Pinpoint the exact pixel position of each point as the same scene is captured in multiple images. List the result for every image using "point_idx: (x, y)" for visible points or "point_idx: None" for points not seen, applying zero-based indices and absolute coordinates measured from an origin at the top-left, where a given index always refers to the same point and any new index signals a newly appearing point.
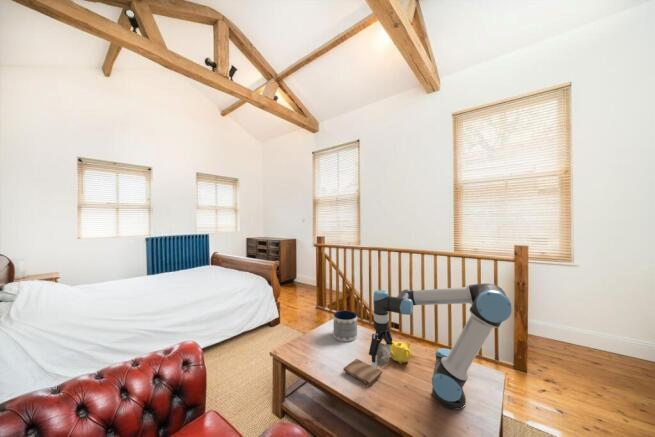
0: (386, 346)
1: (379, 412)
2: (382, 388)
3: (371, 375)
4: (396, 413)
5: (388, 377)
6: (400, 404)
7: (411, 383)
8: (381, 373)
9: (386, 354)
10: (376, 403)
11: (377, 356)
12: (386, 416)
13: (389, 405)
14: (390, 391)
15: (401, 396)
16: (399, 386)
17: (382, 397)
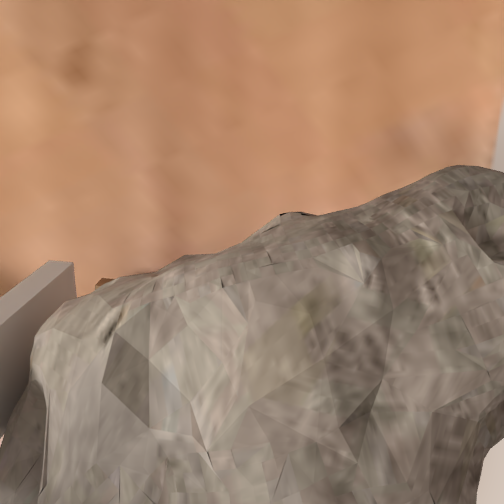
0: (45, 474)
1: (475, 122)
2: (230, 210)
3: None
4: (418, 4)
5: (86, 225)
6: (306, 17)
7: (7, 37)
8: (110, 279)
9: (402, 309)
10: (401, 179)
11: (494, 444)
12: (488, 60)
13: (367, 89)
14: (220, 147)
15: (215, 48)
16: (117, 110)
17: (318, 170)
